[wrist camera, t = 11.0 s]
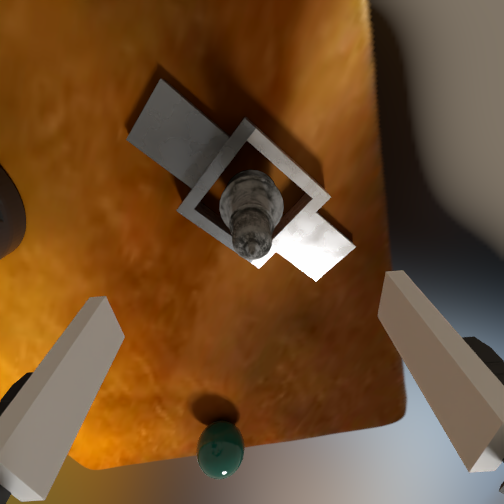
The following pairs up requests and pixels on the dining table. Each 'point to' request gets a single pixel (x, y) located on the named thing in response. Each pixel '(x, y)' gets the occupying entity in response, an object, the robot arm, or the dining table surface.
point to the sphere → (220, 449)
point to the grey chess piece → (251, 212)
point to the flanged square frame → (213, 164)
